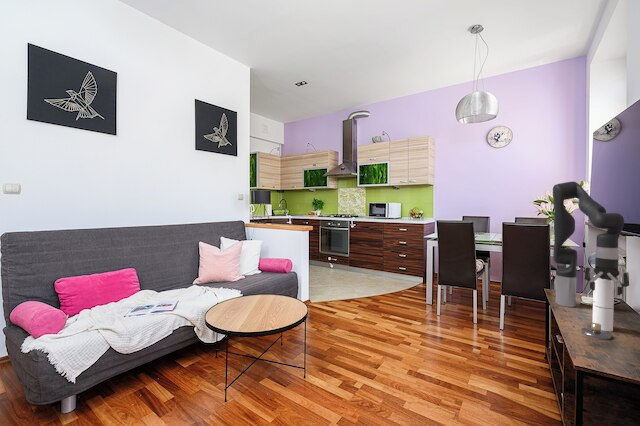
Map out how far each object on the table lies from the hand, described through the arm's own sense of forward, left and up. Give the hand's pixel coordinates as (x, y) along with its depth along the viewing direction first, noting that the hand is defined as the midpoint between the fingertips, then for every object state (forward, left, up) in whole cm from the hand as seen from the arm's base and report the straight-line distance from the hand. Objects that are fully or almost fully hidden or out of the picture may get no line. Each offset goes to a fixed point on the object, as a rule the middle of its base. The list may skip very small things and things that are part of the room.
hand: (605, 292), depth 133 cm
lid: (-1, -3, -20) cm, 20 cm away
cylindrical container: (-10, +4, -20) cm, 23 cm away
